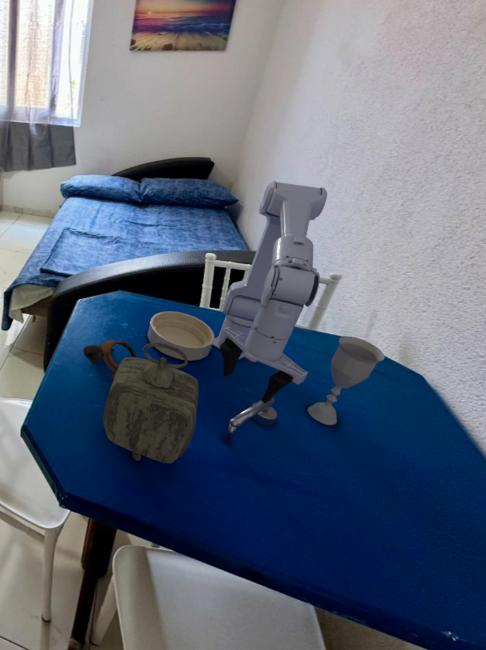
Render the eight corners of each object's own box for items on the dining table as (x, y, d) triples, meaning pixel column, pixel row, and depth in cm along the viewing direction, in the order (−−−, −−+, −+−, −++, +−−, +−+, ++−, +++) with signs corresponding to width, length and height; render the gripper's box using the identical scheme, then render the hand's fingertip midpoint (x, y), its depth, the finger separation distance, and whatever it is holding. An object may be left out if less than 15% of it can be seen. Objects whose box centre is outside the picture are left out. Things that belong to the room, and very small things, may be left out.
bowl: (172, 319, 115) (176, 305, 112) (222, 350, 103) (227, 336, 101) (134, 334, 108) (138, 321, 106) (182, 370, 96) (187, 355, 94)
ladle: (257, 406, 87) (266, 386, 84) (278, 420, 84) (288, 400, 81) (213, 434, 80) (222, 413, 77) (234, 451, 77) (244, 430, 74)
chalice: (349, 432, 82) (393, 364, 73) (312, 426, 83) (351, 358, 74) (331, 404, 88) (370, 339, 79) (296, 399, 89) (331, 333, 80)
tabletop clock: (180, 447, 77) (218, 344, 65) (175, 487, 70) (216, 380, 58) (105, 418, 83) (127, 319, 71) (93, 453, 76) (115, 348, 64)
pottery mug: (120, 352, 102) (138, 339, 95) (123, 389, 96) (142, 378, 90) (76, 342, 100) (91, 328, 93) (76, 379, 95) (92, 367, 88)
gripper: (219, 314, 75) (199, 370, 81) (302, 361, 64) (272, 422, 70) (242, 304, 78) (221, 359, 84) (325, 348, 67) (294, 406, 73)
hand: (246, 387), depth 78 cm, fingers open, 7 cm apart
